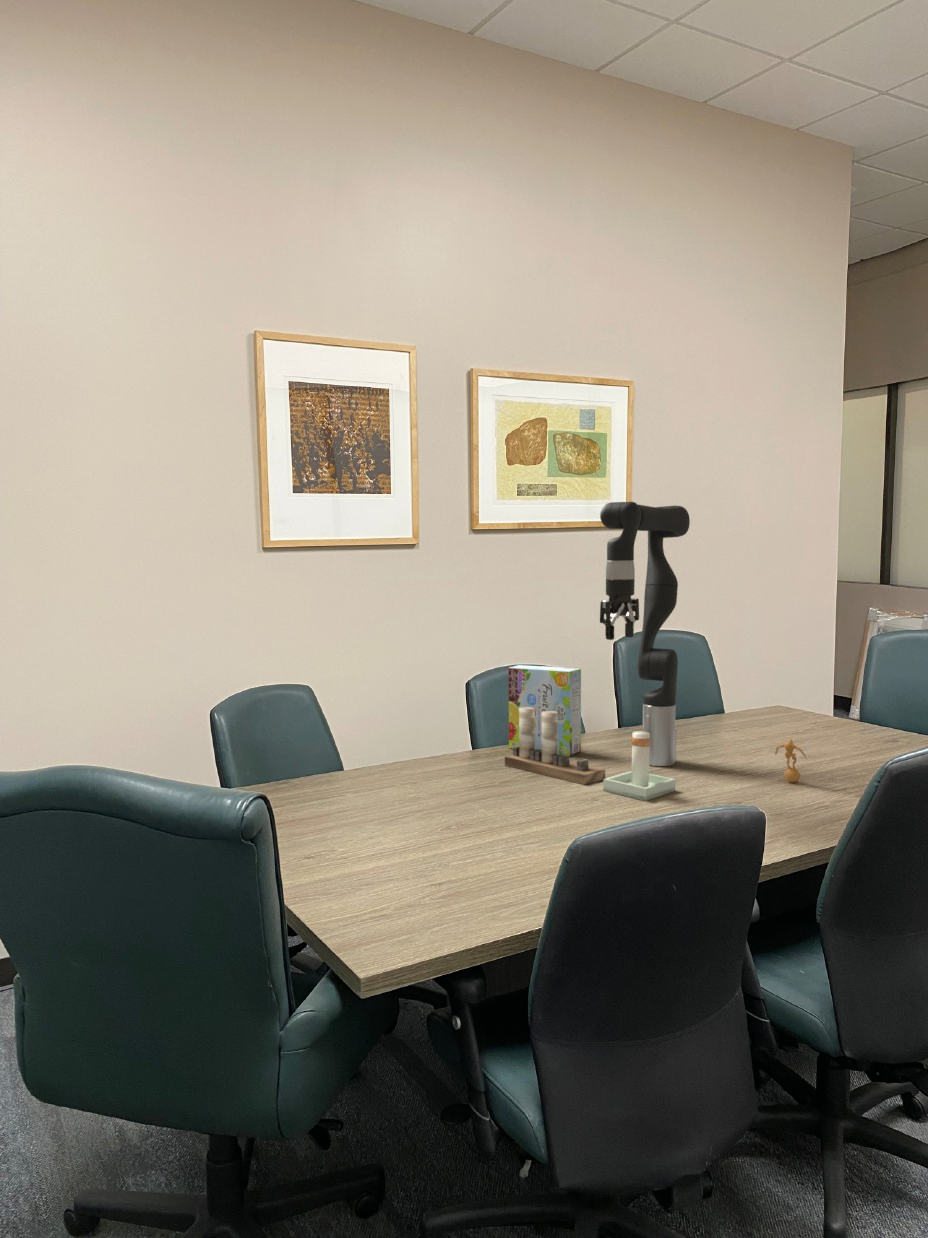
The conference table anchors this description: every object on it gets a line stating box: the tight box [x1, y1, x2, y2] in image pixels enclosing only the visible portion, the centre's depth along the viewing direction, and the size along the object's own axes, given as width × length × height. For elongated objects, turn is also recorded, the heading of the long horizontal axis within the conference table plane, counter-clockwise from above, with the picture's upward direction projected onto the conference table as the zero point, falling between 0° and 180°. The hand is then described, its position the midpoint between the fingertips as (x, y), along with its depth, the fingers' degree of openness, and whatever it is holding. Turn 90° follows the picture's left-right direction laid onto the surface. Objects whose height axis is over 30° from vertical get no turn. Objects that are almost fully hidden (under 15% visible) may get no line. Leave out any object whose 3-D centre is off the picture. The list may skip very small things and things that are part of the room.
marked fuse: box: [630, 730, 650, 787], centre depth 224 cm, size 5×5×14 cm
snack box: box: [508, 664, 582, 756], centre depth 269 cm, size 22×9×26 cm, turn 58°
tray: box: [602, 770, 676, 802], centre depth 225 cm, size 13×13×3 cm
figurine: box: [774, 738, 808, 784], centre depth 230 cm, size 8×6×12 cm
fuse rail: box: [504, 707, 606, 785], centre depth 244 cm, size 9×29×16 cm, turn 44°
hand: (619, 638), depth 234 cm, fingers open, 8 cm apart
